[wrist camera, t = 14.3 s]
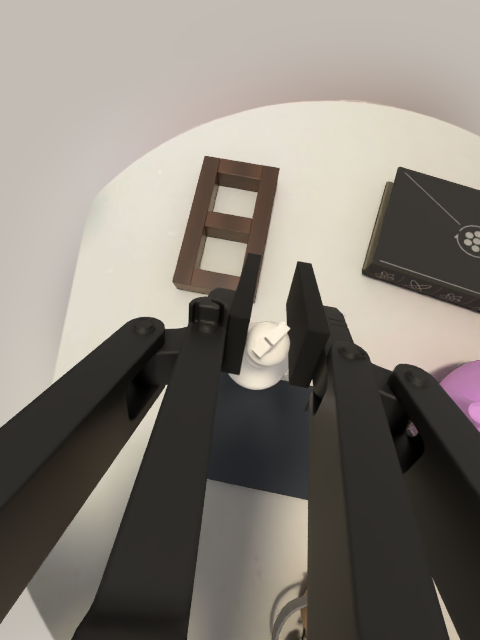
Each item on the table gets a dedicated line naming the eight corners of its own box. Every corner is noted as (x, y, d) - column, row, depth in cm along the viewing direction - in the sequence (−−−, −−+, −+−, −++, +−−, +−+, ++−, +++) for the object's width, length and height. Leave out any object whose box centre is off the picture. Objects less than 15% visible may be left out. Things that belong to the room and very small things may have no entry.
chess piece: (209, 354, 20) (180, 333, 10) (257, 310, 20) (274, 250, 11) (255, 404, 19) (272, 436, 9) (302, 357, 20) (366, 340, 10)
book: (360, 275, 34) (371, 265, 32) (386, 182, 37) (398, 165, 34) (527, 329, 33) (555, 325, 30) (540, 228, 36) (567, 216, 33)
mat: (177, 469, 30) (175, 472, 29) (200, 364, 32) (199, 364, 31) (317, 499, 29) (319, 502, 28) (330, 389, 32) (332, 390, 31)
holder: (176, 288, 34) (172, 281, 32) (206, 169, 38) (204, 155, 35) (254, 302, 34) (255, 297, 31) (277, 181, 37) (279, 168, 35)
